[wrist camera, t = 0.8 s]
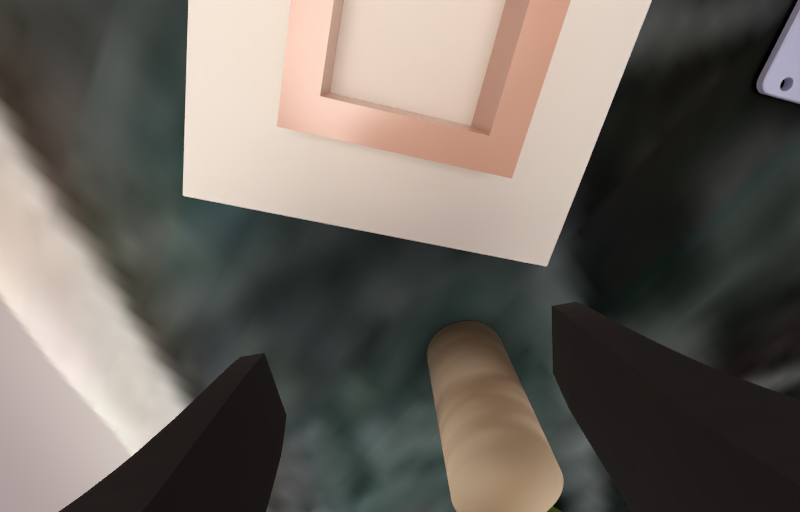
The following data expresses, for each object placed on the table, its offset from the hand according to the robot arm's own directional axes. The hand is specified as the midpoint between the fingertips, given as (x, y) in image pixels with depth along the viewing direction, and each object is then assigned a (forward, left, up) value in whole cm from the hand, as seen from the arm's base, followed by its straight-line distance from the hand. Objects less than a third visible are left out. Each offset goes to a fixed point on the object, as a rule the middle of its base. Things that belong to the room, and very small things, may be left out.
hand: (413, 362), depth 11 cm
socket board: (+1, -8, -10) cm, 13 cm away
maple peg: (-5, +6, -10) cm, 12 cm away
